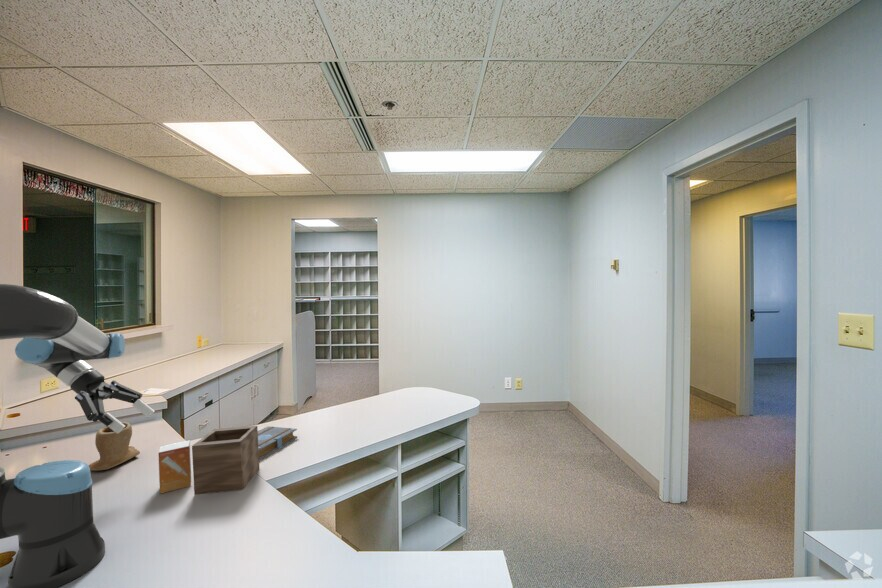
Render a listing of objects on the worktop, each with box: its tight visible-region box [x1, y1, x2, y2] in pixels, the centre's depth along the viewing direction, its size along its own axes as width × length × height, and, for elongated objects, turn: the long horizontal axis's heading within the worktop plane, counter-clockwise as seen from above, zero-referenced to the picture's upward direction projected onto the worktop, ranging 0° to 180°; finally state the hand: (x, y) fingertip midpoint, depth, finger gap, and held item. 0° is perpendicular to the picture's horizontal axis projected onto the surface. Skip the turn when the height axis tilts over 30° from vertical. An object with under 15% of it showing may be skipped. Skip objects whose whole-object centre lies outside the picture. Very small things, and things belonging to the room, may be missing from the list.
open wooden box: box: [191, 425, 260, 496], centre depth 120 cm, size 14×14×15 cm
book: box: [258, 426, 298, 461], centre depth 147 cm, size 21×16×5 cm
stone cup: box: [88, 421, 141, 472], centre depth 137 cm, size 15×12×15 cm
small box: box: [158, 439, 192, 494], centre depth 118 cm, size 8×6×13 cm
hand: (137, 421), depth 117 cm, fingers open, 13 cm apart
